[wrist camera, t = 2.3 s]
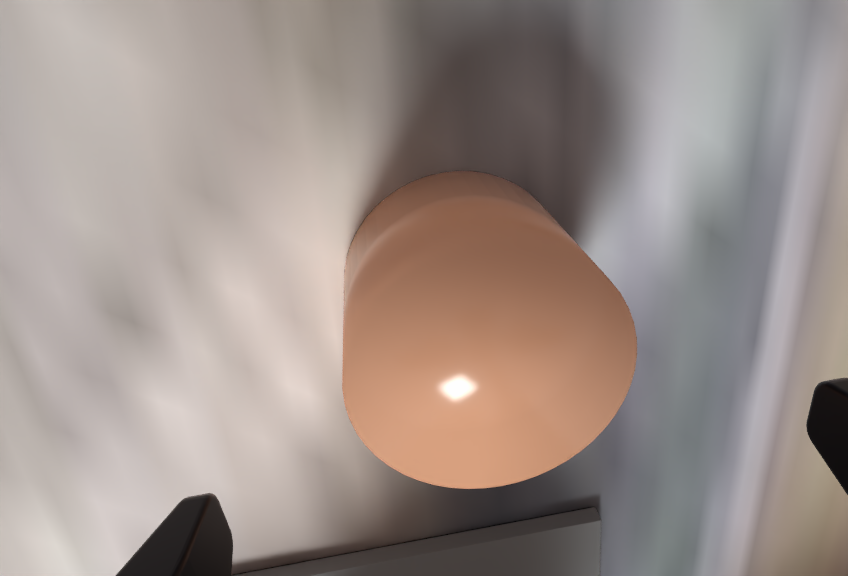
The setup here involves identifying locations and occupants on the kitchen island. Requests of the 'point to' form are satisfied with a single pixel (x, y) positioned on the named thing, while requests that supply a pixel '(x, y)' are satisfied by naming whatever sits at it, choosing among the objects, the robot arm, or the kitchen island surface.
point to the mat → (476, 552)
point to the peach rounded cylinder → (478, 335)
